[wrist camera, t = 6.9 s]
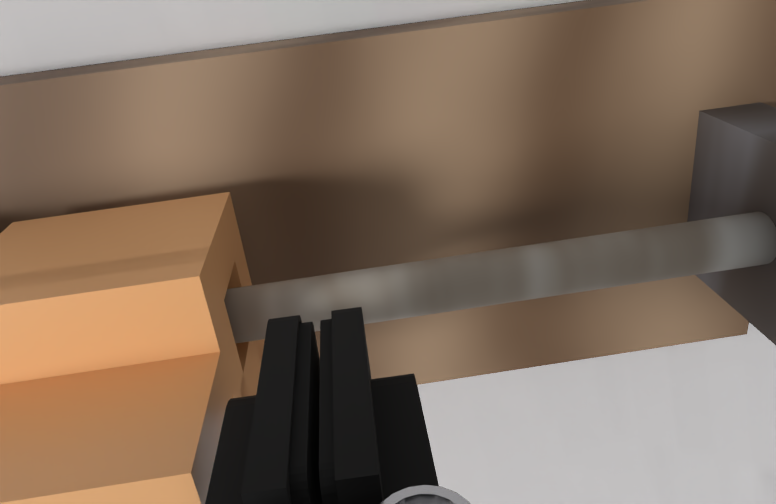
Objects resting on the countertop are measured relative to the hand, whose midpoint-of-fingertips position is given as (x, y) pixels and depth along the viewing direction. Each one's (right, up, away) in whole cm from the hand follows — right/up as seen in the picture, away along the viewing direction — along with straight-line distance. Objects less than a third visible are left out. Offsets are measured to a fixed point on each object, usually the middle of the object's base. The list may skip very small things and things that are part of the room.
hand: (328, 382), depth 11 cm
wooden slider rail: (-1, +3, +7) cm, 7 cm away
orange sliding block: (-5, +1, +4) cm, 7 cm away
